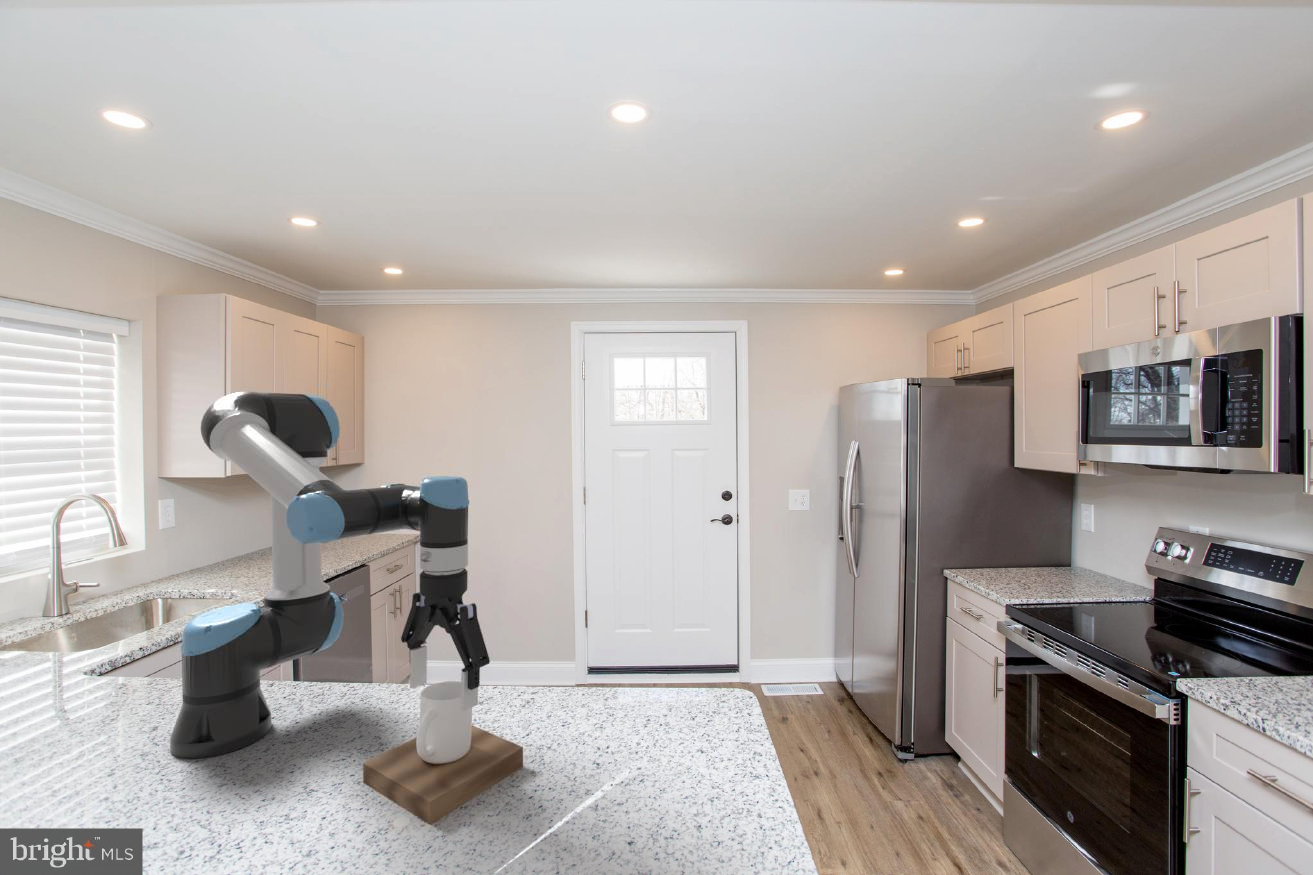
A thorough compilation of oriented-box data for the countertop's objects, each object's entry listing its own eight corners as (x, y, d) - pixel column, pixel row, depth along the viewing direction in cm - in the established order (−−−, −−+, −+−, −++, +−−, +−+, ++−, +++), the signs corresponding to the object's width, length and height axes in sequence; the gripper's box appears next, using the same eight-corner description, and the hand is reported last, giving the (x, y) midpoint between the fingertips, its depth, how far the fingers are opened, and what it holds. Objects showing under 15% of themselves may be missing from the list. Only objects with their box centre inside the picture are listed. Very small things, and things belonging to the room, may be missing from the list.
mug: (440, 781, 90) (442, 713, 90) (392, 773, 92) (395, 706, 92) (479, 743, 101) (481, 683, 102) (437, 737, 103) (439, 678, 104)
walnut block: (363, 787, 96) (363, 762, 96) (456, 739, 110) (456, 718, 110) (430, 829, 85) (430, 801, 85) (523, 770, 100) (522, 746, 100)
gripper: (380, 563, 101) (379, 684, 102) (474, 586, 88) (473, 727, 88) (418, 555, 108) (418, 670, 108) (513, 576, 94) (511, 707, 94)
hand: (442, 696), depth 98 cm, fingers open, 13 cm apart
